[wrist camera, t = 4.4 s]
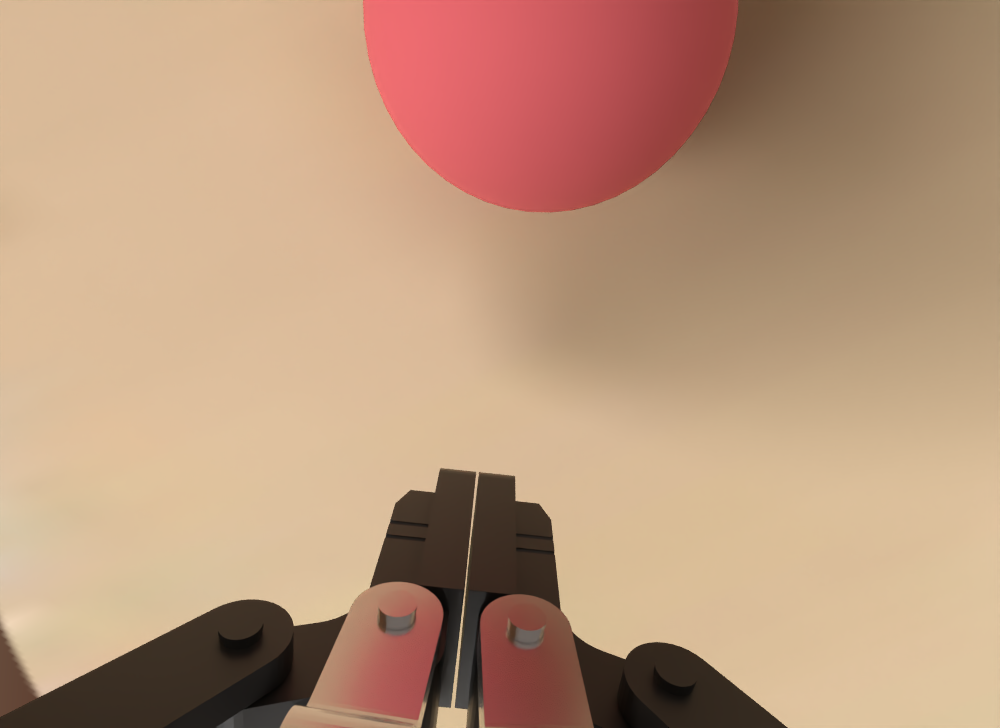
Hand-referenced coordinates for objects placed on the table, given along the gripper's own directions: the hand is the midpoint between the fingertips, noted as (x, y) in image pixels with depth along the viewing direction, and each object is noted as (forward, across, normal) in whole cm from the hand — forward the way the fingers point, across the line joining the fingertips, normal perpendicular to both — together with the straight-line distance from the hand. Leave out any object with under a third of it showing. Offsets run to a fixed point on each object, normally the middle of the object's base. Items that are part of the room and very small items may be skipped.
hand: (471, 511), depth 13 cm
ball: (+1, 0, -9) cm, 9 cm away
